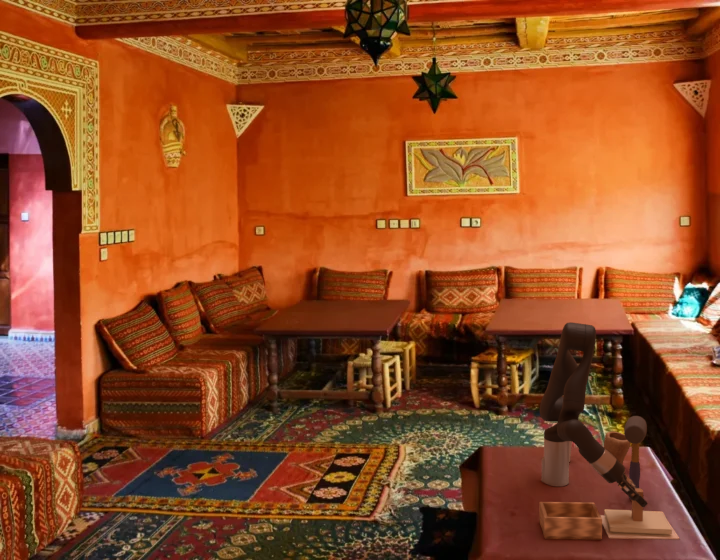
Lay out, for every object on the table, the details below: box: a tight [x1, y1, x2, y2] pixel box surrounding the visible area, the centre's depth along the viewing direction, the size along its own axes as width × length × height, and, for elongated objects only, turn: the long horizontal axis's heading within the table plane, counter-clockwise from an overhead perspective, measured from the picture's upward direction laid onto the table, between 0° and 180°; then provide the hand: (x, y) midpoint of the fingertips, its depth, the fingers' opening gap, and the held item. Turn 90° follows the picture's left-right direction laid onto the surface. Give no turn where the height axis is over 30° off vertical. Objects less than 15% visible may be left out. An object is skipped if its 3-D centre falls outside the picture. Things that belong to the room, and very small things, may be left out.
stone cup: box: [603, 431, 631, 474], centre depth 322 cm, size 15×12×15 cm
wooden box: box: [538, 501, 603, 541], centre depth 270 cm, size 18×13×7 cm
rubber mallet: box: [623, 415, 648, 502], centre depth 291 cm, size 12×8×30 cm, turn 158°
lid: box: [603, 487, 672, 534], centre depth 270 cm, size 19×14×12 cm
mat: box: [600, 514, 680, 540], centre depth 271 cm, size 22×17×1 cm
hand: (643, 501), depth 270 cm, fingers open, 6 cm apart
